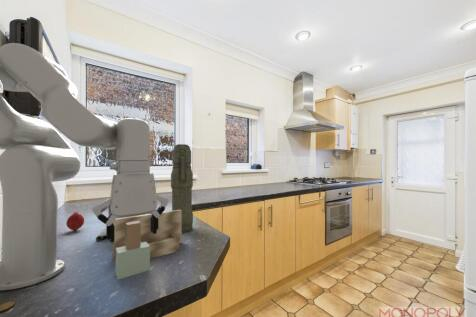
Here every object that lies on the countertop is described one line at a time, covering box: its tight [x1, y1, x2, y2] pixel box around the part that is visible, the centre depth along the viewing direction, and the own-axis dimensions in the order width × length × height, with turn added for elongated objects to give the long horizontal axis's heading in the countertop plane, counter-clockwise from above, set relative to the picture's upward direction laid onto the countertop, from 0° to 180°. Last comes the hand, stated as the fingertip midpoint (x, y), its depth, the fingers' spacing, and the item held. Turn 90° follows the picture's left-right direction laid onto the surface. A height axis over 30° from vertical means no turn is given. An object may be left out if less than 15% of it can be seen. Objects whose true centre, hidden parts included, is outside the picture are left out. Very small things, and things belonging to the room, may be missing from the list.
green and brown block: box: [115, 221, 151, 280], centre depth 52 cm, size 7×4×12 cm, turn 127°
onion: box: [66, 210, 85, 232], centre depth 85 cm, size 6×6×8 cm
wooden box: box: [112, 210, 182, 260], centre depth 63 cm, size 20×8×11 cm, turn 127°
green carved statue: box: [170, 143, 194, 233], centre depth 86 cm, size 9×12×35 cm
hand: (133, 236), depth 52 cm, fingers open, 9 cm apart
